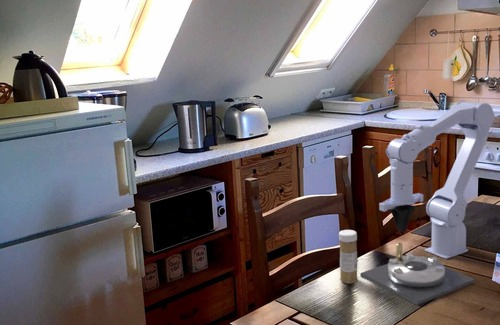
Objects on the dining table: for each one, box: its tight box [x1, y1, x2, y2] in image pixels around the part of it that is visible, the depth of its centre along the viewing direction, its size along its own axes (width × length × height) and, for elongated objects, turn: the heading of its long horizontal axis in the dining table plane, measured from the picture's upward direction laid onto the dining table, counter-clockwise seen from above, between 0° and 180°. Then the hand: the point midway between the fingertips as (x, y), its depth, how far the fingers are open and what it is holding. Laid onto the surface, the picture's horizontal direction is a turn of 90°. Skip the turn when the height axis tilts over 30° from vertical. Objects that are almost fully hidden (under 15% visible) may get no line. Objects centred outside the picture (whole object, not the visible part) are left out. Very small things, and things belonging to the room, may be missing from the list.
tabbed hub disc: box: [387, 242, 445, 287], centre depth 140 cm, size 14×14×7 cm
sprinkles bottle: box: [338, 229, 358, 284], centre depth 141 cm, size 5×5×14 cm
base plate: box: [359, 254, 475, 306], centre depth 141 cm, size 20×20×1 cm
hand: (401, 230), depth 150 cm, fingers closed
